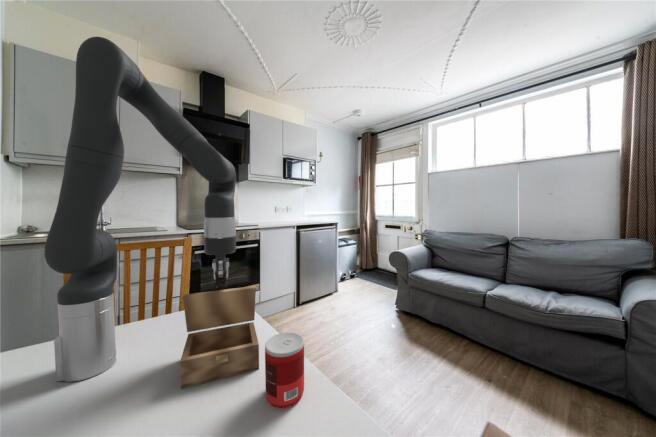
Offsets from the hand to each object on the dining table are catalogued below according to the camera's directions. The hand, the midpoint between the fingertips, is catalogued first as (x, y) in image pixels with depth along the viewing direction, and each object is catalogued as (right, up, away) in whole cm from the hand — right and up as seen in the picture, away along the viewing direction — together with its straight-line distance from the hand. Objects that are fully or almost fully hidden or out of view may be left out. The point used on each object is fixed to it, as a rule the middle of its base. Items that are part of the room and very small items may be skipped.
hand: (221, 299), depth 63 cm
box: (+2, -14, -4) cm, 15 cm away
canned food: (+19, -15, -14) cm, 28 cm away
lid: (0, -2, -1) cm, 3 cm away
